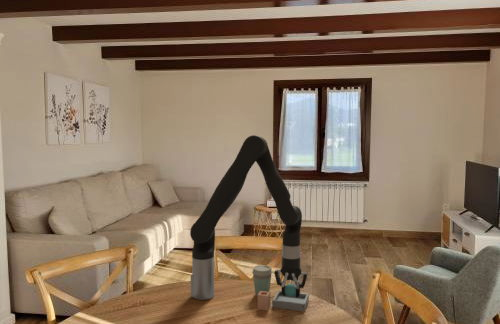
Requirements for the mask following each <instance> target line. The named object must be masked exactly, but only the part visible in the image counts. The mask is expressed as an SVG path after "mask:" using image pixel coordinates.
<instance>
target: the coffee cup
mask: <svg viewBox="0 0 500 324" xmlns="http://www.w3.org/2000/svg"><path fill="white" fill-rule="evenodd" d="M272 275H273V270H272V268H271V266H269V265H265V264H264V265H263V264H262V265H261V264H260V265H256V266H253V269H252V276H253V284H254V285H253V286H254V294H255V296H256V298H258V294H259V292H260V291H266V292H271V291H270V289H271V279H272Z"/></svg>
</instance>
